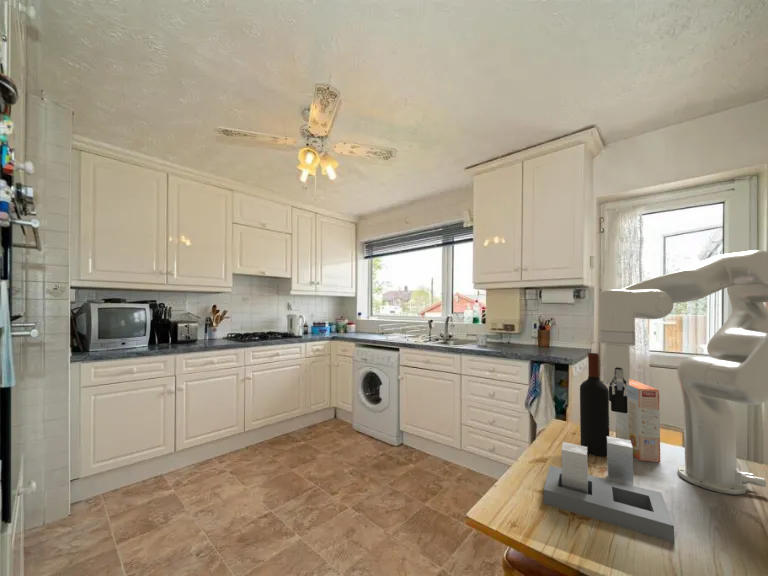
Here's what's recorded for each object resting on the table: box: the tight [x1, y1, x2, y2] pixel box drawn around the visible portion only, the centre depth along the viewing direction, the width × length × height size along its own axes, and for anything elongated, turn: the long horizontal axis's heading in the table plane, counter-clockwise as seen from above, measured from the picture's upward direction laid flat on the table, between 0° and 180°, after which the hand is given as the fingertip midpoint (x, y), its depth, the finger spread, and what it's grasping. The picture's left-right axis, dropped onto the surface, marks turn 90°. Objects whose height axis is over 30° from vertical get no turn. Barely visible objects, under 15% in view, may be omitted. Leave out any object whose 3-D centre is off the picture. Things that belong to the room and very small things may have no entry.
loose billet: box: [606, 435, 635, 486], centre depth 82 cm, size 5×5×11 cm
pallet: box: [543, 465, 675, 543], centre depth 73 cm, size 22×13×4 cm, turn 58°
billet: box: [561, 441, 589, 494], centre depth 76 cm, size 5×5×11 cm
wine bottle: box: [579, 352, 611, 458], centre depth 102 cm, size 8×8×30 cm
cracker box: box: [614, 378, 661, 463], centre depth 102 cm, size 14×6×21 cm, turn 168°
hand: (617, 406), depth 83 cm, fingers open, 9 cm apart
